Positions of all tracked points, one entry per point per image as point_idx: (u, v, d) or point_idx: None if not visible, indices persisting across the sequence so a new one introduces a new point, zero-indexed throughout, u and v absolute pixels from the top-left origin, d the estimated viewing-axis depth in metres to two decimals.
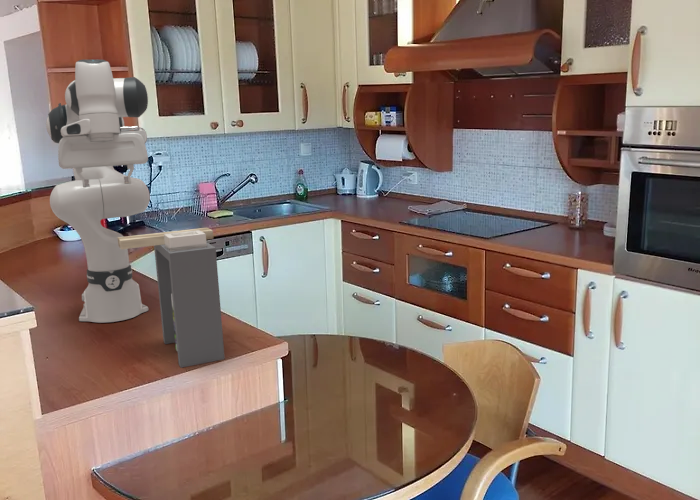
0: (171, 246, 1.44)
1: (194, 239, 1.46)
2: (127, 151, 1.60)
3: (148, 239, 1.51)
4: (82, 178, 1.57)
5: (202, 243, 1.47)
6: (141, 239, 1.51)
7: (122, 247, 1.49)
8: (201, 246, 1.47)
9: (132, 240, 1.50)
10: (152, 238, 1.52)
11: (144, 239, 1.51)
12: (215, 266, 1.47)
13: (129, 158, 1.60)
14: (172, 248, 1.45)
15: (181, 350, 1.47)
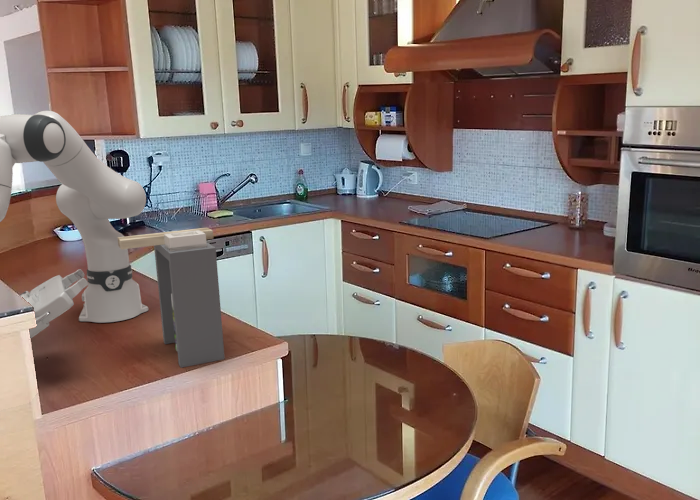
0: (171, 246, 1.44)
1: (194, 239, 1.46)
2: None
3: (148, 239, 1.51)
4: None
5: (202, 243, 1.47)
6: (141, 239, 1.51)
7: (122, 247, 1.49)
8: (201, 246, 1.47)
9: (132, 240, 1.50)
10: (152, 238, 1.52)
11: (144, 239, 1.51)
12: (215, 266, 1.47)
13: None
14: (172, 248, 1.45)
15: (181, 350, 1.47)
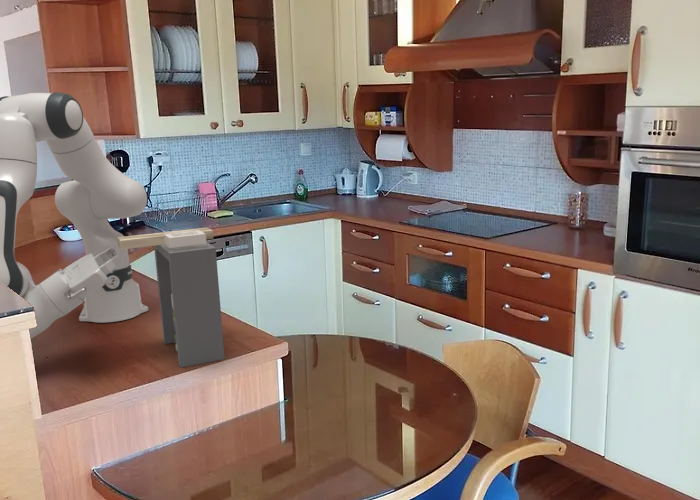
0: (171, 246, 1.44)
1: (194, 239, 1.46)
2: None
3: (148, 239, 1.51)
4: None
5: (202, 243, 1.47)
6: (141, 239, 1.51)
7: (122, 247, 1.49)
8: (201, 246, 1.47)
9: (132, 240, 1.50)
10: (152, 238, 1.52)
11: (144, 239, 1.51)
12: (215, 266, 1.47)
13: None
14: (172, 248, 1.45)
15: (181, 350, 1.47)
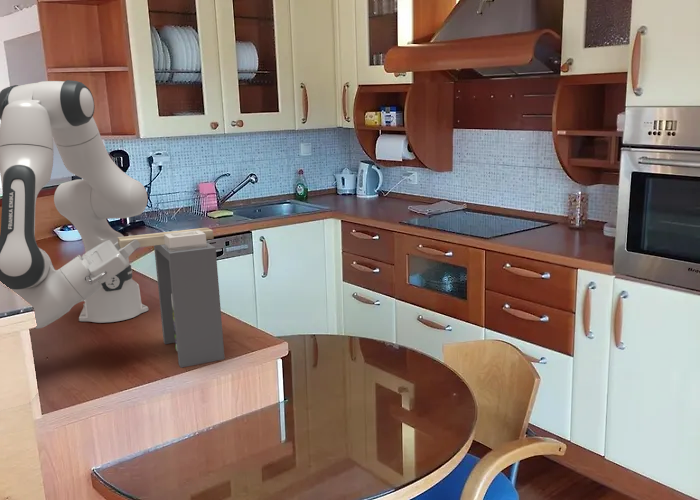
0: (171, 246, 1.44)
1: (194, 239, 1.46)
2: None
3: (148, 239, 1.51)
4: None
5: (202, 243, 1.47)
6: (141, 239, 1.51)
7: (122, 247, 1.49)
8: (201, 246, 1.47)
9: None
10: (152, 238, 1.52)
11: (144, 239, 1.51)
12: (215, 266, 1.47)
13: None
14: (172, 248, 1.45)
15: (181, 350, 1.47)
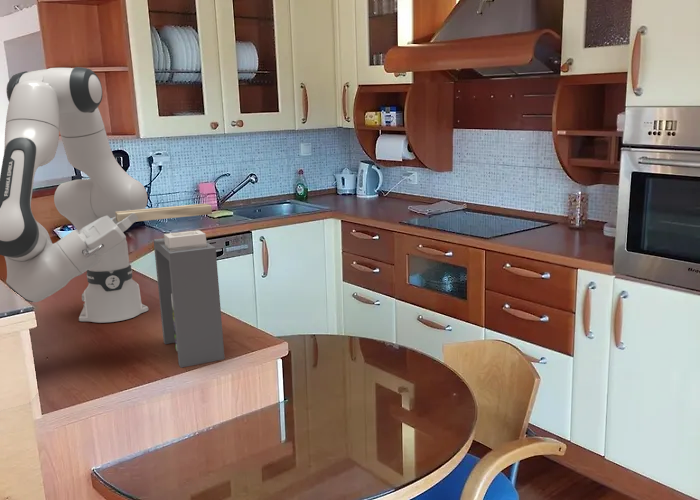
0: (171, 246, 1.44)
1: (194, 239, 1.46)
2: None
3: (146, 213, 1.50)
4: None
5: (202, 243, 1.47)
6: (139, 213, 1.49)
7: None
8: (201, 246, 1.47)
9: None
10: (150, 212, 1.50)
11: (142, 213, 1.50)
12: (215, 266, 1.47)
13: None
14: (172, 248, 1.45)
15: (181, 350, 1.47)
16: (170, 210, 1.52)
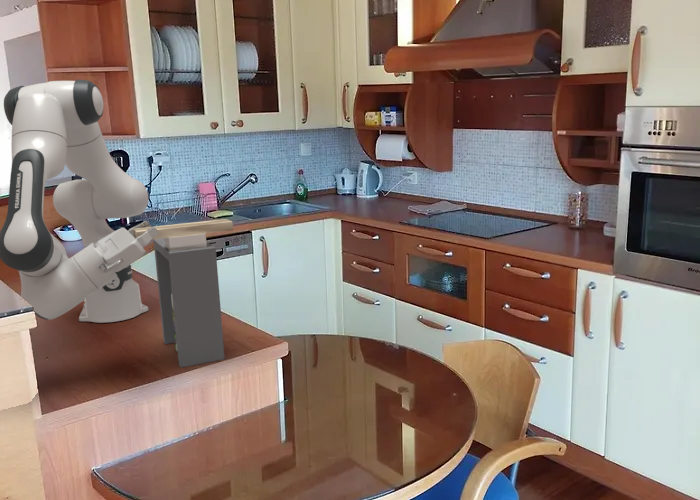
0: (171, 246, 1.44)
1: (194, 239, 1.46)
2: None
3: (165, 230, 1.44)
4: None
5: (202, 243, 1.47)
6: (158, 231, 1.43)
7: None
8: (201, 246, 1.47)
9: None
10: (169, 229, 1.44)
11: (161, 230, 1.43)
12: (215, 266, 1.47)
13: None
14: (172, 248, 1.45)
15: (181, 350, 1.47)
16: (190, 227, 1.46)
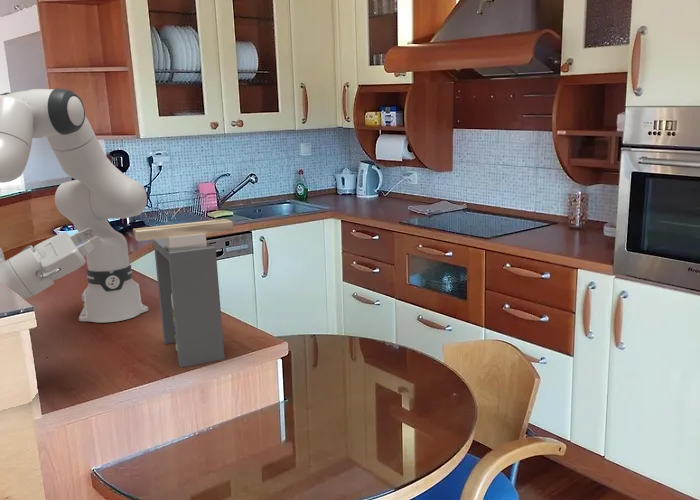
0: (171, 246, 1.44)
1: (194, 239, 1.46)
2: None
3: (165, 230, 1.44)
4: None
5: (202, 243, 1.47)
6: (158, 231, 1.43)
7: (138, 239, 1.42)
8: (201, 246, 1.47)
9: (149, 231, 1.42)
10: (169, 229, 1.44)
11: (161, 230, 1.43)
12: (215, 266, 1.47)
13: None
14: (172, 248, 1.45)
15: (181, 350, 1.47)
16: (190, 227, 1.46)
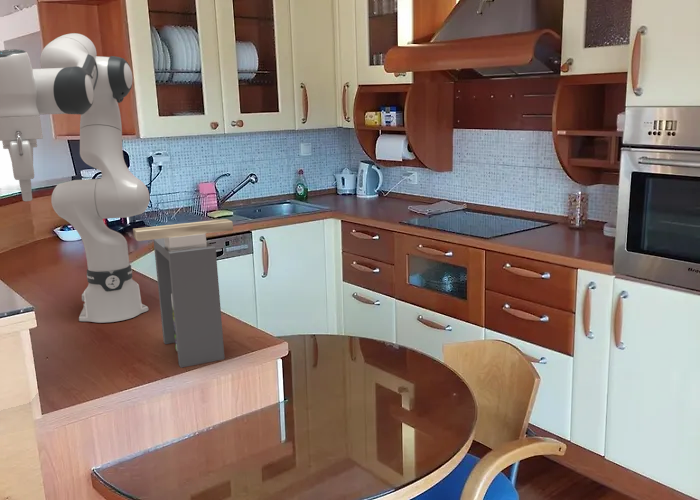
0: (171, 246, 1.44)
1: (194, 239, 1.46)
2: None
3: (165, 230, 1.44)
4: None
5: (202, 243, 1.47)
6: (158, 231, 1.43)
7: (138, 239, 1.42)
8: (201, 246, 1.47)
9: (149, 231, 1.42)
10: (169, 229, 1.44)
11: (161, 230, 1.43)
12: (215, 266, 1.47)
13: None
14: (172, 248, 1.45)
15: (181, 350, 1.47)
16: (190, 227, 1.46)
